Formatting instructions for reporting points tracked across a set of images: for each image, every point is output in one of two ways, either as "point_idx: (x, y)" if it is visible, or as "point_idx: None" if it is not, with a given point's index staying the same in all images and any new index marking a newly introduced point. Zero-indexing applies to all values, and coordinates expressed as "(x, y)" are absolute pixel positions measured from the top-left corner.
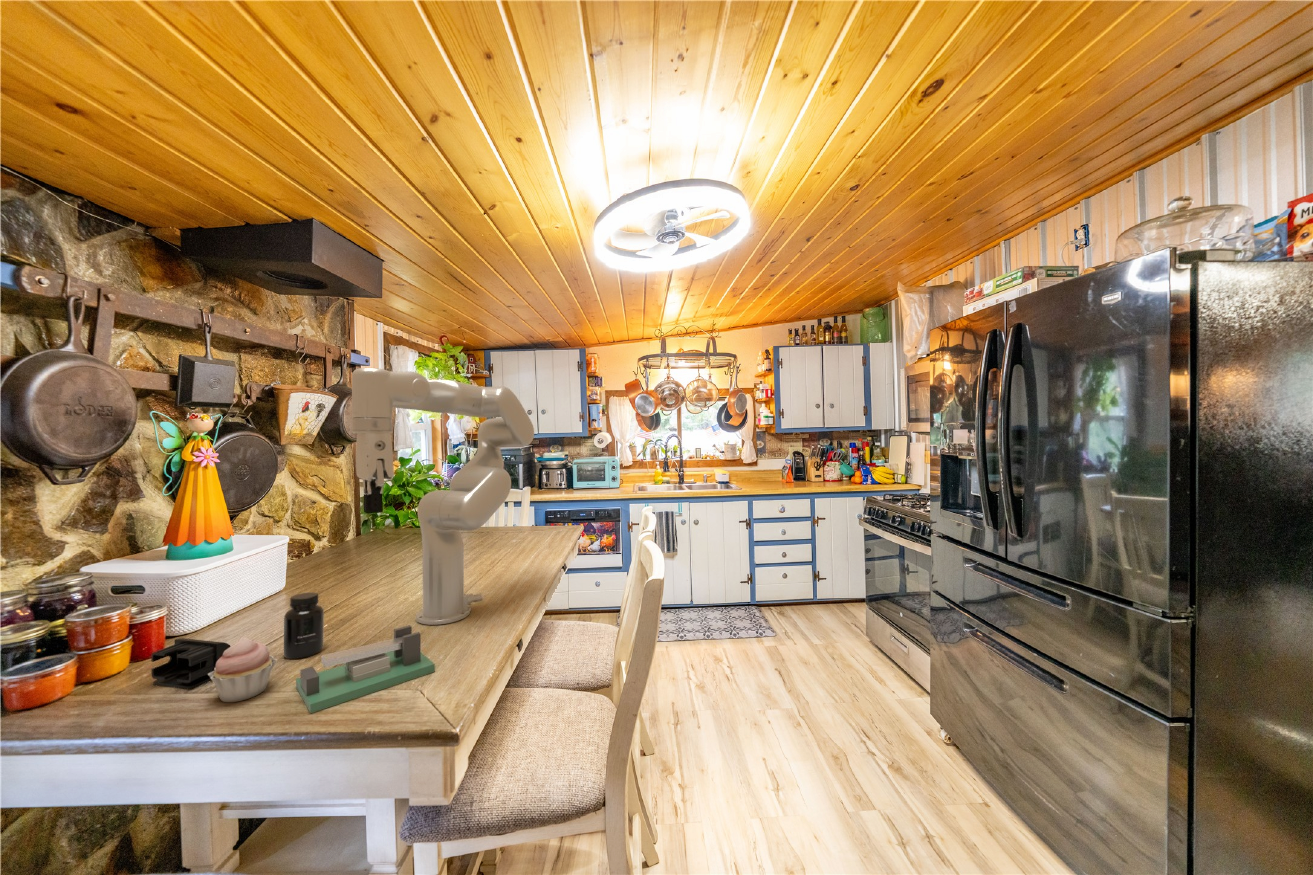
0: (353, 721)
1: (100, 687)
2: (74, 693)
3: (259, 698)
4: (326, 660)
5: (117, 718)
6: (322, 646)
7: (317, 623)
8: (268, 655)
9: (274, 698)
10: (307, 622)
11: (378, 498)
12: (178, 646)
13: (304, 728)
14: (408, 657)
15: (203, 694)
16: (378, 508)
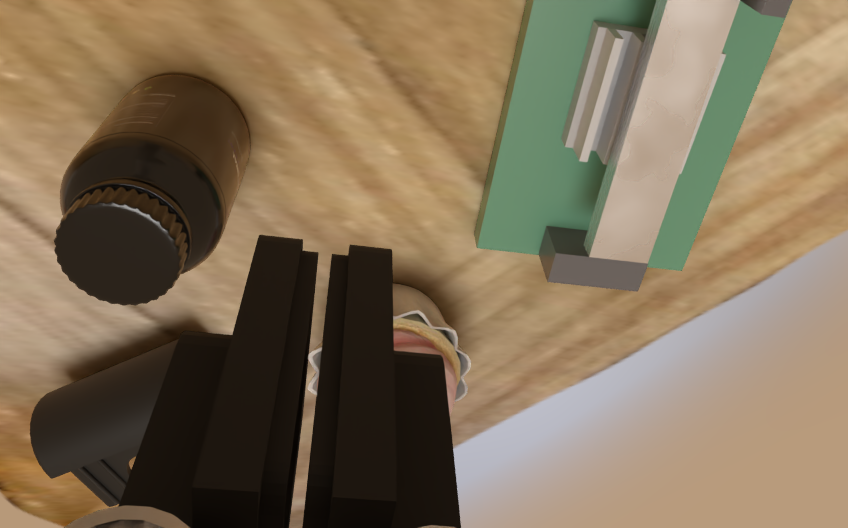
0: (823, 206)
1: (59, 495)
2: (61, 523)
3: (459, 307)
4: (646, 259)
5: (297, 485)
6: (213, 88)
7: (220, 162)
8: (412, 341)
9: (495, 285)
10: (229, 209)
11: (454, 502)
12: (110, 471)
13: (730, 285)
14: None
15: (307, 377)
16: (441, 359)
